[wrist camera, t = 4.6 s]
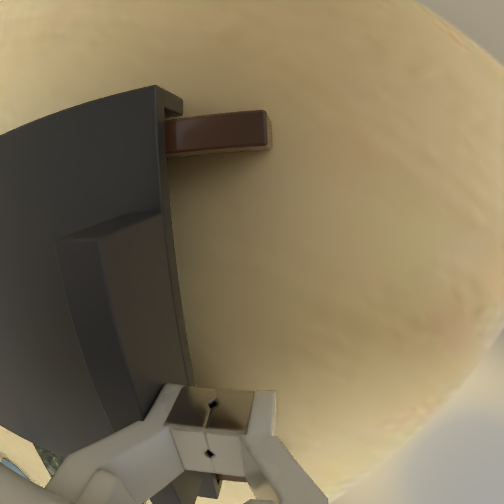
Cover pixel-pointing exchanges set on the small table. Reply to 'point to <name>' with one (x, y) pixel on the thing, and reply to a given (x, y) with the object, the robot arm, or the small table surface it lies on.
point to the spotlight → (12, 467)
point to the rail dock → (218, 147)
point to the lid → (91, 277)
